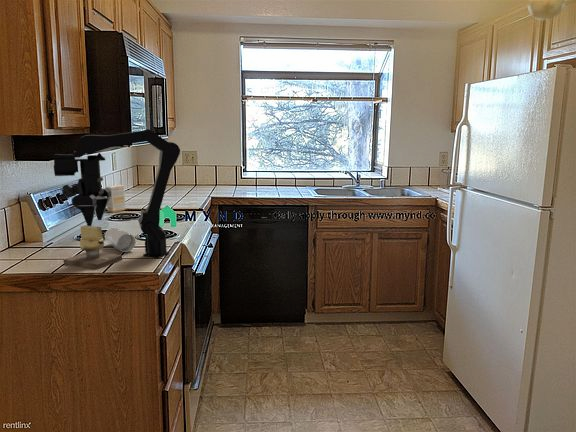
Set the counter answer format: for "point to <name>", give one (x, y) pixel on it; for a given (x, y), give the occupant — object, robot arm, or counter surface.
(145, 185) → the counter surface
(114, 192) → the supplement box
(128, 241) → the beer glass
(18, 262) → the counter surface
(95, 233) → the cap
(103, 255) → the base
